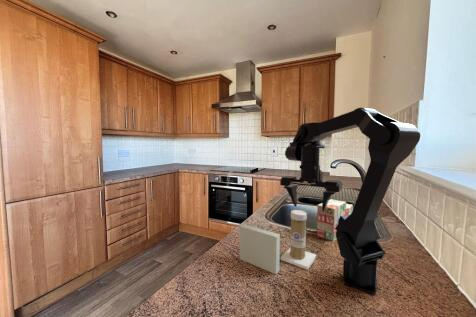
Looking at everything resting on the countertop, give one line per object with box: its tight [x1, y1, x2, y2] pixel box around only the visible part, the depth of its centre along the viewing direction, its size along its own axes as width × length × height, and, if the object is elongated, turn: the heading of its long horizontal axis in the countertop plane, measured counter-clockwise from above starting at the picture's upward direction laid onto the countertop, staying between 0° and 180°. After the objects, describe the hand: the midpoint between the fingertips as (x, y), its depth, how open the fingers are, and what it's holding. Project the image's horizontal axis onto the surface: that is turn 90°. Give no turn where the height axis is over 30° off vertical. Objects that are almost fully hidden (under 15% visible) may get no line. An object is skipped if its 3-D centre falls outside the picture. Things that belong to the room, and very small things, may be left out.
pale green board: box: [239, 223, 281, 275], centre depth 56 cm, size 12×2×10 cm, turn 53°
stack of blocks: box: [316, 199, 354, 242], centre depth 79 cm, size 21×6×12 cm, turn 133°
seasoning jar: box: [289, 209, 308, 259], centre depth 59 cm, size 5×5×13 cm
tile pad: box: [280, 247, 317, 271], centre depth 59 cm, size 8×8×1 cm
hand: (308, 208), depth 65 cm, fingers open, 9 cm apart
